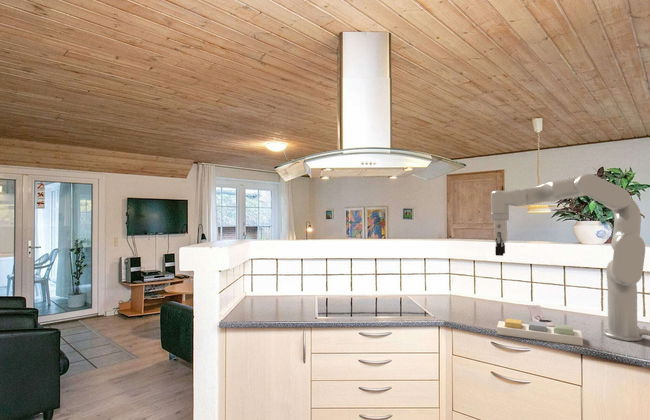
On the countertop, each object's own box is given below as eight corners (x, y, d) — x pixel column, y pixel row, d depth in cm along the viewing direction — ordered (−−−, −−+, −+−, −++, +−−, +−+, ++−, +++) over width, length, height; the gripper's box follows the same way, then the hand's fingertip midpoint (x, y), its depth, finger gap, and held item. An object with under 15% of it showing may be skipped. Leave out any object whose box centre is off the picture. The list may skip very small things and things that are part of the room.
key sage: (572, 332, 156) (572, 325, 156) (573, 336, 150) (573, 330, 150) (554, 330, 158) (554, 323, 158) (555, 334, 153) (555, 327, 153)
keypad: (580, 338, 156) (580, 330, 156) (583, 345, 147) (583, 337, 147) (499, 327, 170) (499, 320, 170) (496, 334, 162) (496, 327, 162)
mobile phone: (539, 305, 187) (557, 318, 163) (540, 317, 187) (557, 333, 163) (526, 304, 189) (541, 318, 164) (526, 316, 189) (541, 332, 164)
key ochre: (521, 326, 164) (521, 320, 164) (521, 329, 159) (521, 323, 159) (506, 324, 167) (506, 318, 167) (505, 327, 162) (505, 321, 162)
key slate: (546, 329, 160) (546, 322, 160) (546, 333, 155) (546, 326, 155) (529, 327, 163) (529, 321, 163) (529, 330, 158) (529, 324, 158)
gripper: (507, 217, 170) (508, 256, 170) (510, 217, 185) (510, 252, 185) (489, 217, 173) (489, 256, 173) (493, 217, 189) (493, 252, 188)
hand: (500, 254), depth 179 cm, fingers open, 9 cm apart
